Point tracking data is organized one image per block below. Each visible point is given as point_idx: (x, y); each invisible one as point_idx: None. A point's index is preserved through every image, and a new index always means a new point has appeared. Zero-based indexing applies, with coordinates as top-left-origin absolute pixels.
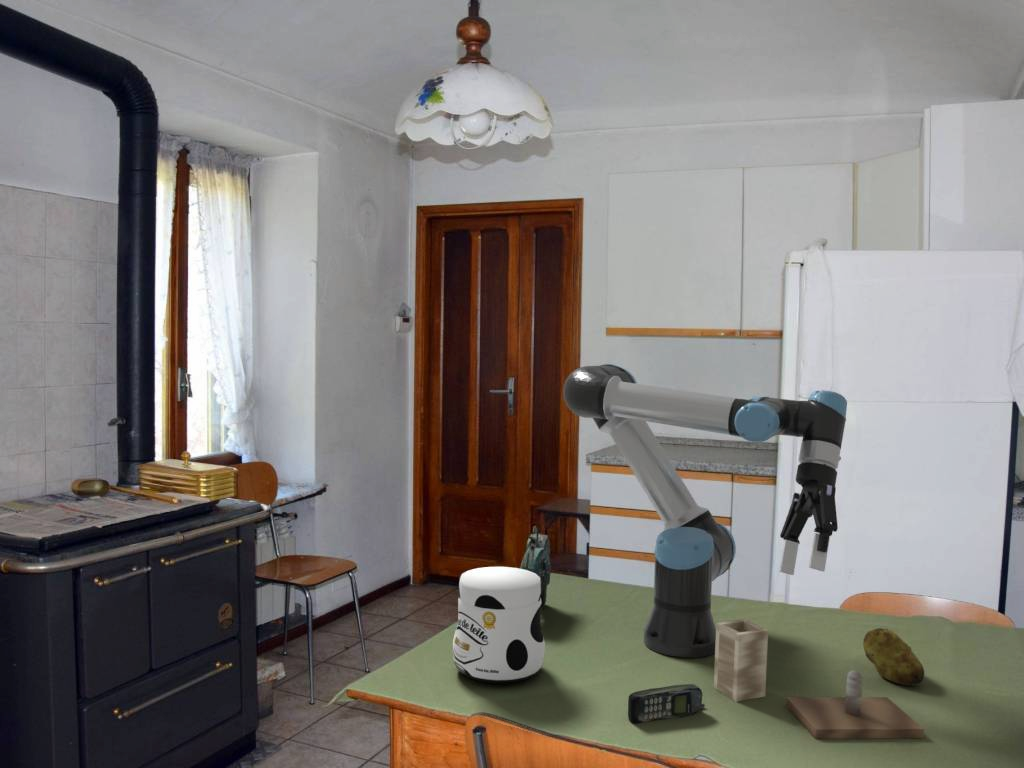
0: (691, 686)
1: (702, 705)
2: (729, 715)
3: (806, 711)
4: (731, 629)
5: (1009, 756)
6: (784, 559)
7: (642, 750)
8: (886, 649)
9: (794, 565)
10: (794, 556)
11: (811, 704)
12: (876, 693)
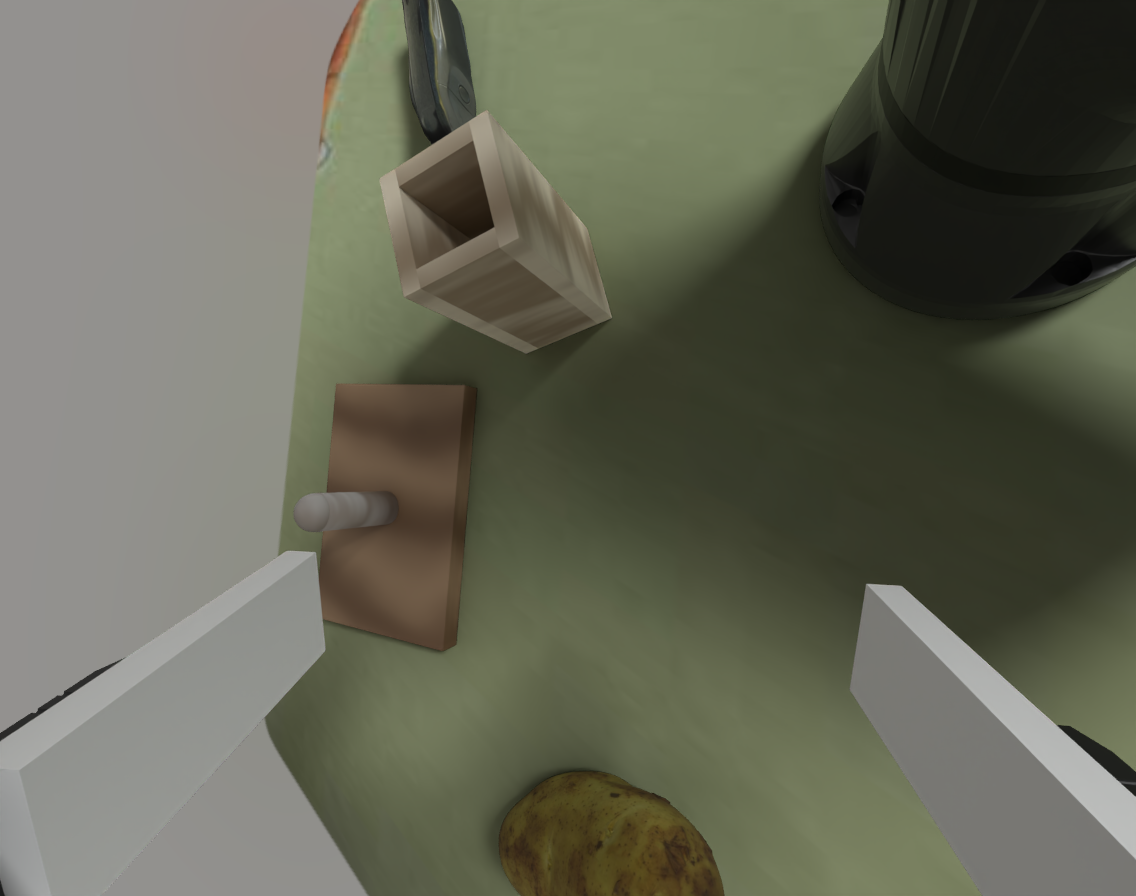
0: (422, 107)
1: None
2: None
3: (399, 400)
4: (423, 160)
5: (268, 724)
6: (925, 666)
7: (351, 48)
8: (570, 840)
9: (889, 746)
10: (946, 813)
11: (426, 429)
12: (518, 671)
